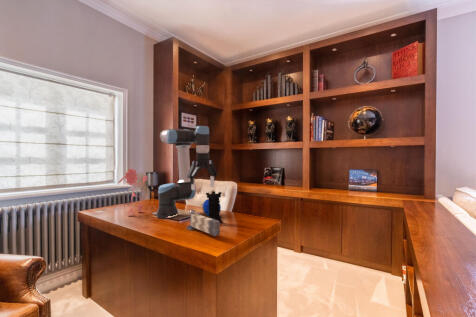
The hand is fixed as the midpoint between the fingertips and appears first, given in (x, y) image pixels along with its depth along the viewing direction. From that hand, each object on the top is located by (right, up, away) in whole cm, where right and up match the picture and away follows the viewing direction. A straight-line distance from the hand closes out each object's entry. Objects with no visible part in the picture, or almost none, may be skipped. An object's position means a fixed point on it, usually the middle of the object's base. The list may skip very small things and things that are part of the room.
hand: (203, 188), depth 138 cm
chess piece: (+5, -25, +13) cm, 28 cm away
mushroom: (+1, -24, +30) cm, 39 cm away
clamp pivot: (-7, -25, +3) cm, 26 cm away
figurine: (-61, -25, +40) cm, 77 cm away
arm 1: (+1, -23, -7) cm, 24 cm away
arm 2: (+3, -23, -6) cm, 24 cm away
